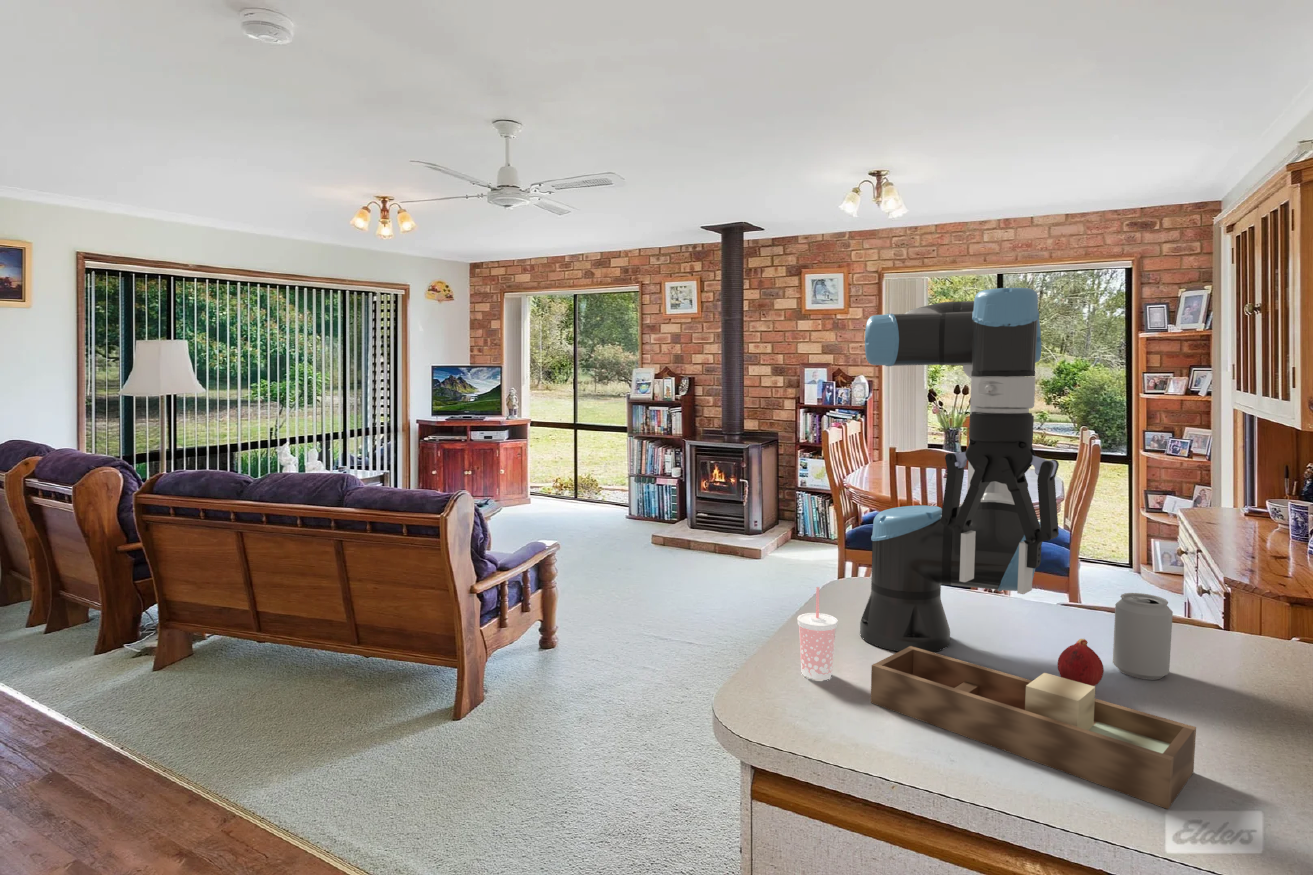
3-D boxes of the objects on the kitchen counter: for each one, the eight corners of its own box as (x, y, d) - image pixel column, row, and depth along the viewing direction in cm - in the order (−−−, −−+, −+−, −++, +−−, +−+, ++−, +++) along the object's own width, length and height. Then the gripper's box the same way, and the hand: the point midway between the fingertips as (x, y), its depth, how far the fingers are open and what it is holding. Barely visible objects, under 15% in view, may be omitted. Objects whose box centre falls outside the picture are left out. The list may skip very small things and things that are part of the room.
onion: (1085, 703, 107) (1088, 648, 106) (1048, 688, 112) (1050, 636, 111) (1110, 695, 109) (1113, 641, 109) (1072, 681, 114) (1075, 629, 114)
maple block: (1024, 724, 94) (1025, 685, 94) (1042, 709, 98) (1044, 672, 98) (1076, 741, 90) (1078, 700, 89) (1093, 725, 94) (1095, 686, 93)
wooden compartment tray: (870, 702, 107) (871, 665, 107) (909, 680, 115) (910, 645, 114) (1168, 809, 81) (1171, 760, 80) (1193, 772, 88) (1196, 727, 88)
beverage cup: (837, 685, 113) (838, 594, 112) (795, 681, 115) (796, 591, 113) (836, 669, 119) (838, 582, 118) (797, 666, 120) (798, 580, 119)
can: (1178, 683, 113) (1182, 605, 112) (1123, 679, 115) (1127, 603, 114) (1156, 664, 121) (1160, 591, 120) (1104, 661, 122) (1108, 589, 121)
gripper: (915, 409, 101) (910, 576, 103) (1074, 414, 87) (1065, 608, 89) (941, 407, 106) (936, 566, 108) (1096, 412, 92) (1087, 595, 94)
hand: (994, 585), depth 99 cm, fingers open, 7 cm apart
